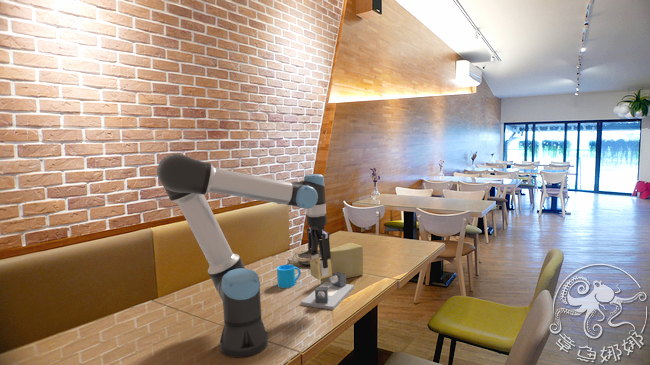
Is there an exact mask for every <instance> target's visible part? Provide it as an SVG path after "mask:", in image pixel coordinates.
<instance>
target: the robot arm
mask: <svg viewBox="0 0 650 365" xmlns="http://www.w3.org/2000/svg"><path fill="white" fill-rule="evenodd" d="M156 169H157V170H156V174H157V175H156V176H157V177H158V180H159V182H160V183H161V185H162V187H163V189H164V191H165V193H166V195H167V197H168V198H169V200H170V202H172V203H176V204H177V205H178V207H179V209H180V210H181V213H182V215H183V216H184V218H185V220H186V222H187V224H188V226H189V228H190V230H191V232H192V234H193V236H194V237H195V240H196V242H197V243H198V245H199V247H200V249H201V251H202V253H203V255H204V257H205V260H206V261H207V264H208V265H209V266H208V269H207V273H208V275H209V278H210V279H211V281H212V283H213V285H214V288H215V290H216V291H217V293H218V294H219V297H220V299H221V300H222V301H221V302H222V308H223V320H224V321H223V323H224V324H223V327H222V328H223V329H222V331H221V336H220V340H219V349H220V350H219V351H220V352H221V353H222V354H223V355H224V356H227V357H230V358H231V357H232V358H244V357H245V358H247V357H249V356H253V355H255V354H258V353H260V352H262V351H263V350H265V349H266V348H267V346H268V344H269V335H268V332H267V330H266V328H265V324H264V323H263V320H262V307H261V306H262V304H261V303H262V302H261V281H260V276H259V274H258V272H256V271H255V270H254V269H249V268H246V267H245V264H244V263H243V261H242V259H241V256H240V255H239V254H238V253H234V252H233V251H232V249H231V246H230V244H229V243H228V240H227V239H226V237H225V234H224V233H223V230H222V228H221V226H220V224H219V222H218V221H217V219H216V216H215V214H214V212H213V210H212V208H211V206H210V205H209V202H208V200H207V198H206V195H207V194H208V193H213V194H220V195H226V196H230V197H236V198H237V197H238V198H243V199H250V200H257V201H261V202H262V201H263V202H269V203H274V204H278V205H287V206H291V207H297V208H301V209H305V210H306V215H307V216H306V222H307V223H306V225H307V226H308V227H306V232H307V251H308V252H309V253H310V254H311V255H312V260H313V259H317V258H319V255H318V254H319V252H318V251H317V250H320V255H321V259H320V264H321V277H324V276H328V259H330V258H331V253H330V249H331V245H330V243H331V242H330V232H326V229H325V226H327V223H328V218H327V215H326V214H327V204H326V185H325V179H324V175H322V174H320V173H313V174H306V175H304V176H303V180H301V181H291V182H290V181H285V180H279V179H273V178H269V177H264V176H260V175H254V174H249V173H243V172H239V171H233V170H229V169H228V170H227V169H224V168H218V167H214V165H213V164H212V163H209V162H204V161H201V160H198V159H195V158H192V157H190V156H188V155H185V154H181V153H173V154H170V155H169V154H168V155H167V156H165V157H163V159H161V160H160V162H159V163H158V165H157V168H156ZM316 254H317V255H316Z"/></svg>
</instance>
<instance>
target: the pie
mask: <svg viewBox="0 0 650 365" xmlns="http://www.w3.org/2000/svg"><path fill="white" fill-rule="evenodd" d="M317 251H318V252H319V254H318V255H319V258H321V255H320V250H319V249H318V250H317ZM316 255H317V254H316ZM288 260H289V264H288V265H293V266H298V267H299V266H300V267H301V266H302V267H303V266H306V267H307V266H309V267H310V260H312V255H311V254H310V253H309V252H308V250H301V251H296V252H295V253H293V254H292V255H291V257H290V258H288ZM295 270H297V269H296V268H295Z"/></svg>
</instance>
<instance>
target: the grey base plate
mask: <svg viewBox="0 0 650 365" xmlns="http://www.w3.org/2000/svg"><path fill="white" fill-rule="evenodd" d="M321 285H325V286H326V287H328V303H316V301H315V290H313V291H312V292H311V293H310V294H308V295H307V296H306V297H305V298H304V299H303V300H301V302H300V305H301V306H307V307H313V308H320V309H325V310H332V311H334V310H335V309H336V308H337V307H338V305H340V303H342V302H343V301H344V300H345V298H346V297H347V296H348V295H349V294H350V293H351V292H352V291H353V290H354V289H355V284H349V283H346V286H343V287H341V288H340V287H337V286H334V285H333V284H330V282H326V281H325V282H324V283H323V284H322V283H321Z"/></svg>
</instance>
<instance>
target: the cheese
mask: <svg viewBox="0 0 650 365" xmlns="http://www.w3.org/2000/svg"><path fill="white" fill-rule="evenodd" d="M330 253H331V258H330V259H329V260H331V267H332V274H333V273H335V272H341V273H344V274H346V279H349V278H355V277H358V276H363V275H364V254H363V253H364V251H363V246H362V244H361V245H360V244H357V243H353V242H348V243H345V244H342V245H338V246H334V247H333V248H330ZM330 277H332V276H329V277H326V278H322V279H320V283H321V285H322V284H323V283H324V282H325V281H326V282H329V278H330Z"/></svg>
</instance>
